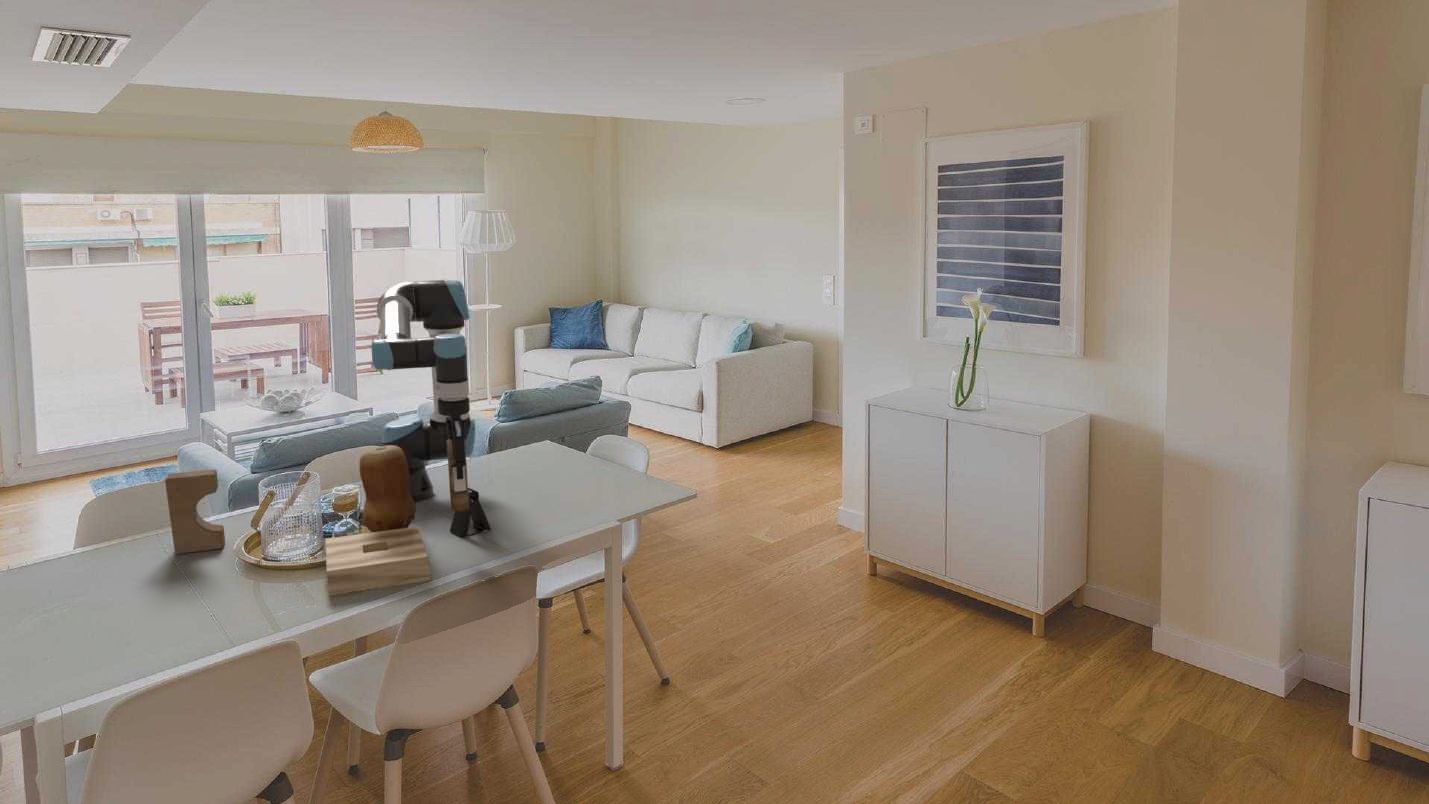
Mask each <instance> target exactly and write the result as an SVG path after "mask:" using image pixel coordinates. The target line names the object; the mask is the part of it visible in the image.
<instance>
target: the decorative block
mask: <svg viewBox="0 0 1429 804" xmlns="http://www.w3.org/2000/svg"><path fill="white" fill-rule="evenodd" d="M164 482H165V489H166V491H165V492H166V499H167V504H168V505H167V506H168V511H169V520H170V527H171V534H172V541H173V542H172V543H173V550H174V554H175V555H184V554H183V553H185V554H192V552H193V553H200V552H199V551H201V552H207V551H214V550H216V549H217V550H223V548H224V546H225V544H226V537H225V530H224V529H225V528H224V526H223V524H214V523H210V522H208V521H206V520H205V519H203V517H201V516H200V515H199V512H198V509H197V506H198V505H197V504H199V502H200V501H201V500H203V499H204V498H205V497H206V496H208V495H209V496H210V495H213V494H215V493H216V492H217V491H218V488H219V480H218V471H217V469H215V468H214V469H206V470H205V469H204V470H203V469H202V470H196V471H194V470H193V471H183V472H173V473H168V474H167V476H166V477H165V480H164ZM217 550H216V551H217Z"/></svg>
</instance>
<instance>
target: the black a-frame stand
mask: <svg viewBox="0 0 1429 804" xmlns="http://www.w3.org/2000/svg"><path fill="white" fill-rule="evenodd" d="M468 497H469V509H468V510H466V511H462V512H454V514H453V517H452V521H451V525H450V530H449V532H450V533H452V534H454V535H456V536H458V537H460V538H462V539H463V538H467V537H470V536H474V535H476V534H481V533H483V532H482V531H484V532H486V531H485V530H488V531H491V528H492V527H491V525H490V523H489V520H488V518H487V516H486V514H485V511H484V509H483V506H482V504H481V502H480V493H479V491H477V490H474V489H473V488H470V487H468ZM470 521H472V524H471V525H470ZM480 532H481V533H480ZM473 534H474V535H473ZM466 536H467V537H466Z"/></svg>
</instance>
